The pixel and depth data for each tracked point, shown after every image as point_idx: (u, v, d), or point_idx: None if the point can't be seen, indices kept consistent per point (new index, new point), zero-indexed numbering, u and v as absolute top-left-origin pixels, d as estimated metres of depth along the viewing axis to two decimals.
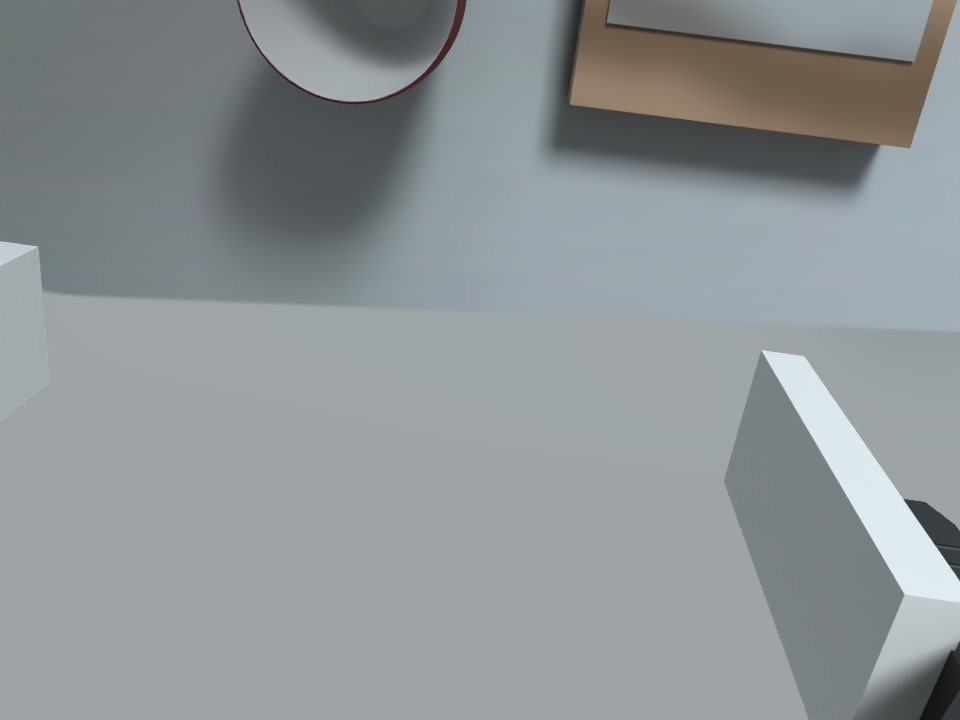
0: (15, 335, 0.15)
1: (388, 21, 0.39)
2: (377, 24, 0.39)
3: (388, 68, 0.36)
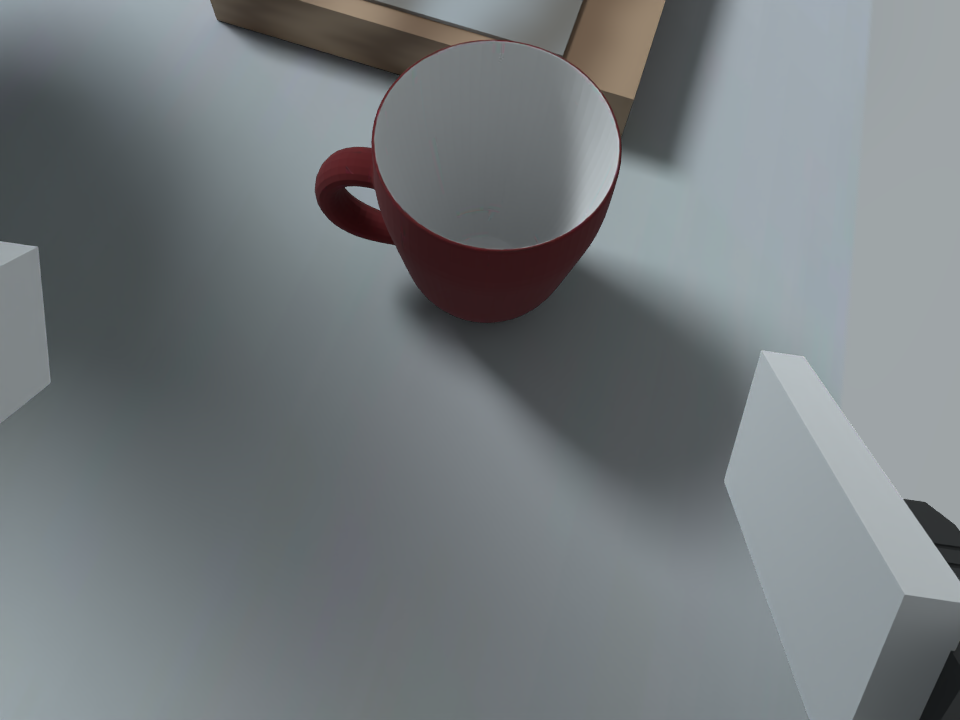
0: (15, 335, 0.15)
1: None
2: None
3: None
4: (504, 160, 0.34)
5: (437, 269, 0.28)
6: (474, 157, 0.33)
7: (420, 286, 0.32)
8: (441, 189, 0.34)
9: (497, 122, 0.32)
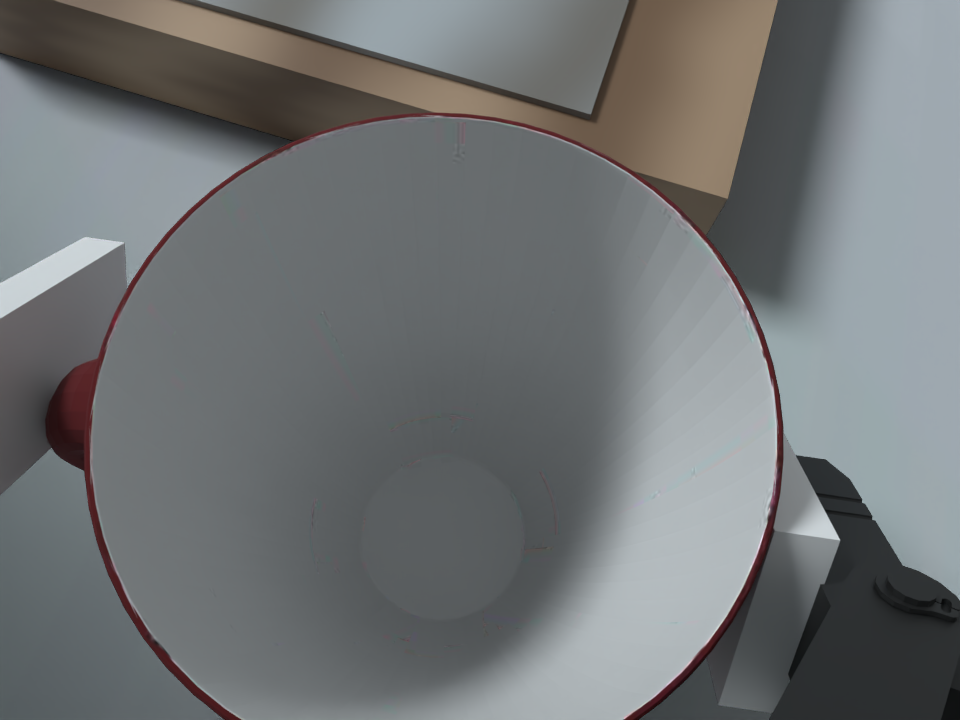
0: (104, 326, 0.15)
1: (506, 557, 0.19)
2: (506, 582, 0.18)
3: (623, 512, 0.15)
4: (478, 341, 0.16)
5: None
6: (416, 336, 0.16)
7: None
8: (352, 393, 0.17)
9: (459, 276, 0.15)
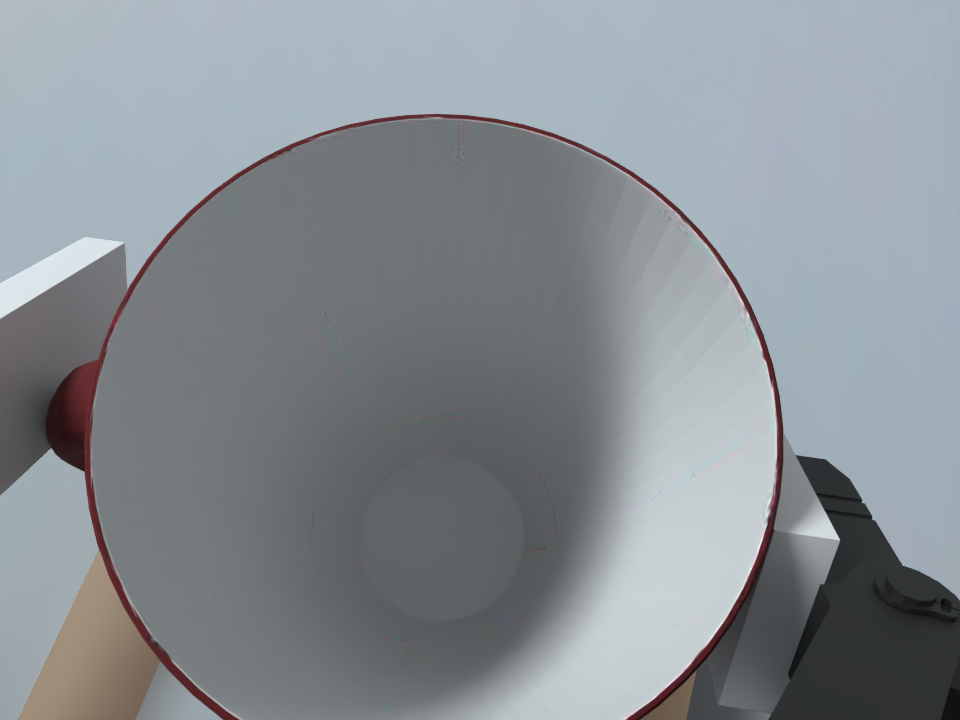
0: (104, 326, 0.15)
1: (506, 558, 0.19)
2: (506, 583, 0.18)
3: (623, 513, 0.15)
4: (478, 342, 0.16)
5: None
6: (416, 337, 0.16)
7: None
8: (352, 394, 0.17)
9: (459, 277, 0.15)
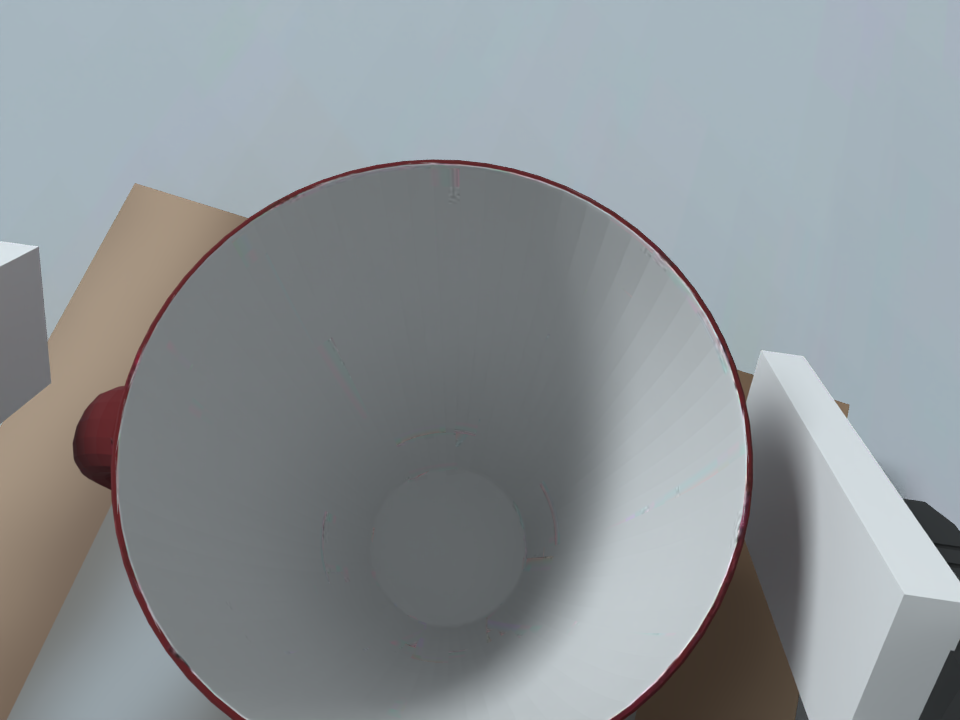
0: (15, 335, 0.15)
1: (509, 566, 0.19)
2: (509, 590, 0.19)
3: (616, 526, 0.16)
4: (479, 361, 0.17)
5: None
6: (419, 358, 0.17)
7: None
8: (360, 412, 0.18)
9: (458, 303, 0.15)
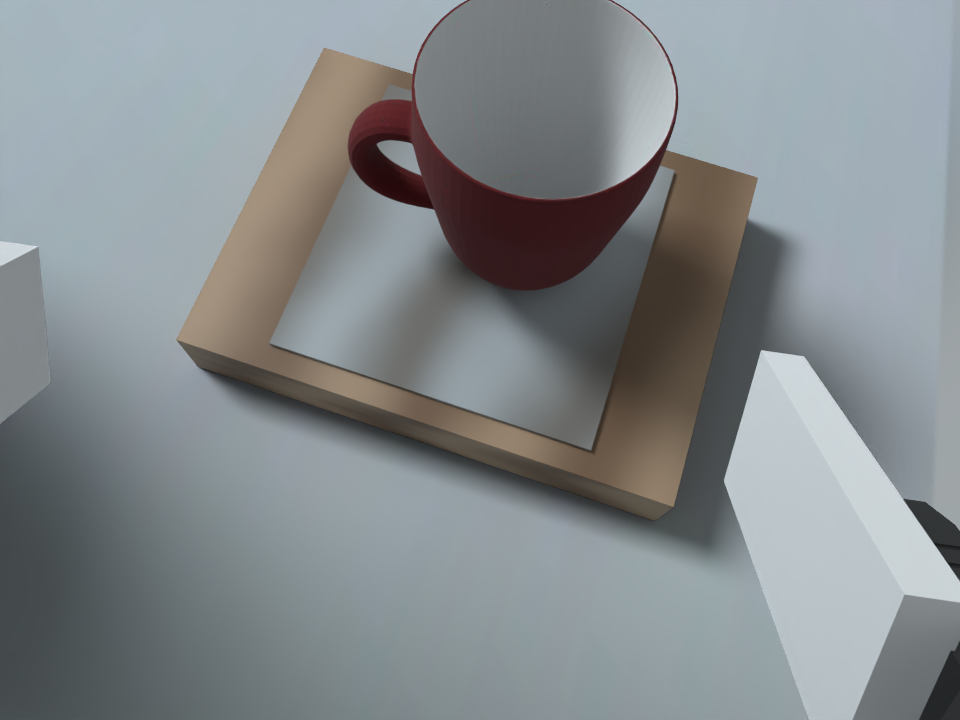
0: (15, 335, 0.15)
1: None
2: None
3: None
4: (545, 119, 0.32)
5: (480, 224, 0.26)
6: (513, 116, 0.32)
7: (457, 249, 0.30)
8: (478, 150, 0.32)
9: (539, 76, 0.30)
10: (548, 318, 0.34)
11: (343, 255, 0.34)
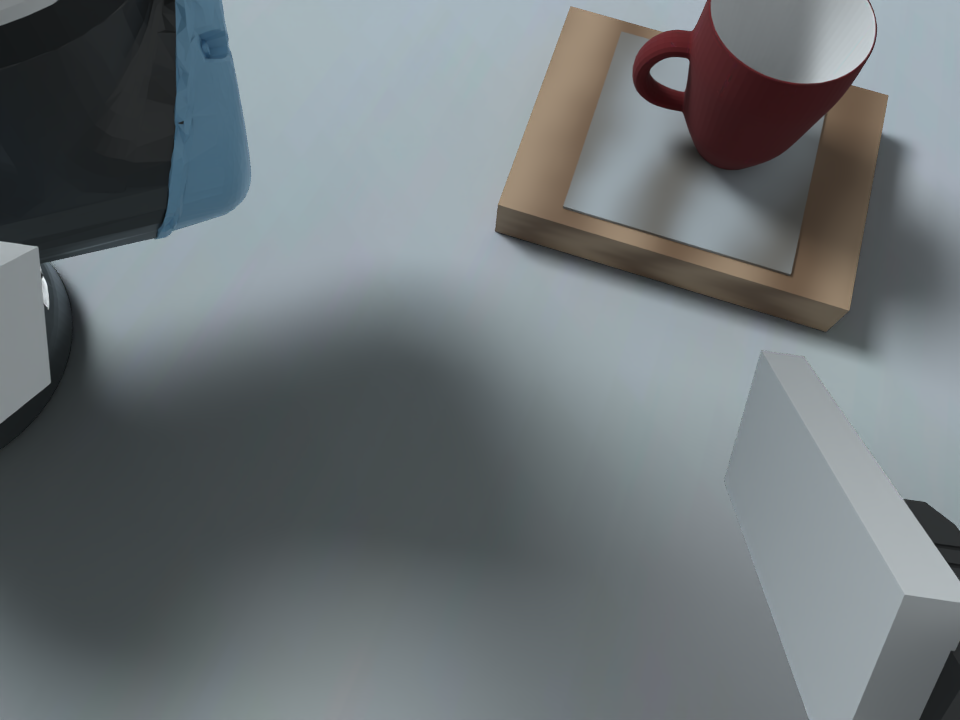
0: (15, 335, 0.15)
1: None
2: None
3: None
4: (756, 49, 0.46)
5: (747, 106, 0.41)
6: (735, 46, 0.46)
7: (708, 133, 0.45)
8: None
9: (760, 17, 0.45)
10: (752, 189, 0.48)
11: (605, 148, 0.49)
